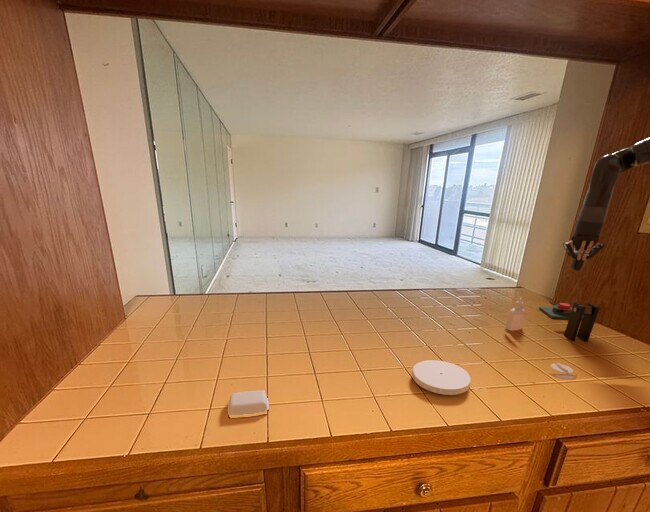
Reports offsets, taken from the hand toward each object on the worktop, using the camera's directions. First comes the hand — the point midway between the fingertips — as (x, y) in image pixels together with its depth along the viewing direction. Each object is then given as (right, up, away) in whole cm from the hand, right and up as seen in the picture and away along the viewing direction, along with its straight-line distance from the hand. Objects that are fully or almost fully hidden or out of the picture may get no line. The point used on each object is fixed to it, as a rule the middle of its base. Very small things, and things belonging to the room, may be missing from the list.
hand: (575, 270), depth 124 cm
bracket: (-9, -25, -12) cm, 29 cm away
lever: (-8, -16, -11) cm, 21 cm away
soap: (-107, -38, -47) cm, 122 cm away
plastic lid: (-61, -34, -35) cm, 78 cm away
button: (0, -14, +6) cm, 15 cm away
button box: (0, -17, +8) cm, 19 cm away
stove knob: (-26, -33, -30) cm, 51 cm away
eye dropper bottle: (-25, -22, -5) cm, 34 cm away
